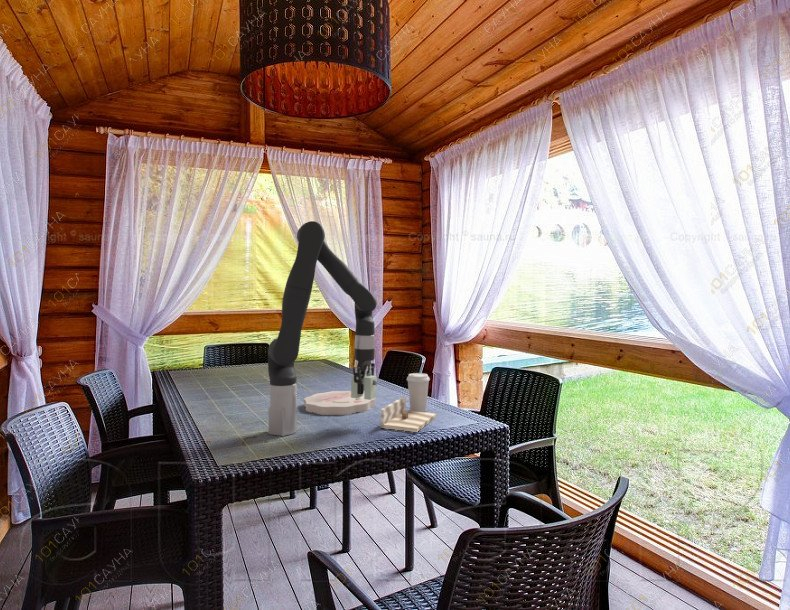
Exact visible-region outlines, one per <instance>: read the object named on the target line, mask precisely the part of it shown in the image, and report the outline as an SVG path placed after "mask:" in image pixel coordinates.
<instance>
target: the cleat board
mask: <svg viewBox="0 0 790 610" xmlns="http://www.w3.org/2000/svg"><path fill="white" fill-rule="evenodd" d="M406 403H407V397H406V396H402V397H400V398H399V399H397V400H395V401H393V402H391V403H390V404H387V405H386V406H384V407H383V408H380V429H381V428H386V429H385V430H388V429H395V430H394V431H397V430H404V431H403V432H405V431H412V432H411V433H413V432H418V431H419V430H420V429H421V430H423V429H424V428H425V427H426V426H427V424H428V423H429V422H430V421H431V422H432V421H434V420H435V419H436V418H437V413H435V412H434V413H433V412H415V411H410V410H407V404H406ZM435 417H436V418H435ZM434 418H435V419H434ZM433 419H434V420H433ZM431 422H430V423H431ZM430 423H429V424H430ZM429 424H428V425H429ZM425 425H426V426H425ZM424 426H425V427H424ZM423 427H424V428H423ZM422 428H423V429H422ZM421 430H420V431H421ZM420 431H419V432H420ZM419 432H418V433H419Z"/></svg>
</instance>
